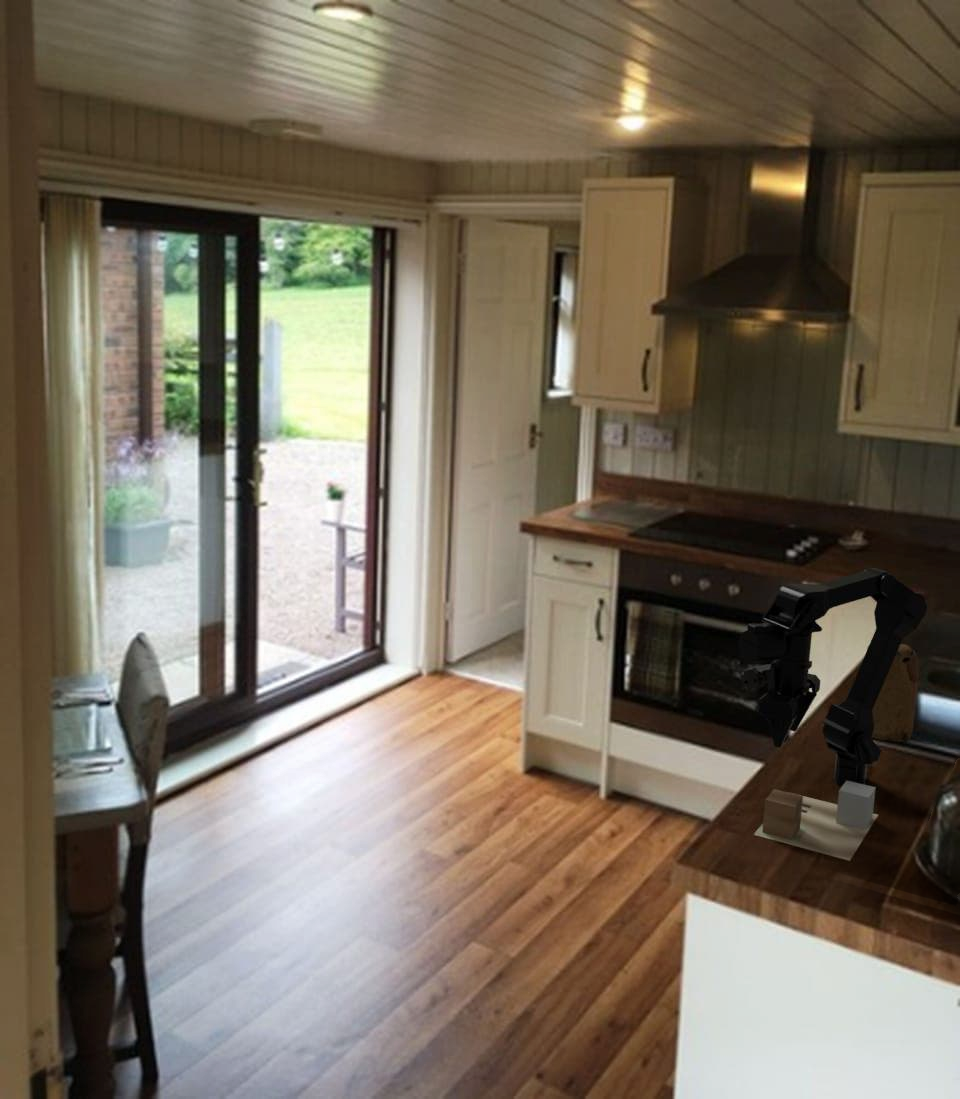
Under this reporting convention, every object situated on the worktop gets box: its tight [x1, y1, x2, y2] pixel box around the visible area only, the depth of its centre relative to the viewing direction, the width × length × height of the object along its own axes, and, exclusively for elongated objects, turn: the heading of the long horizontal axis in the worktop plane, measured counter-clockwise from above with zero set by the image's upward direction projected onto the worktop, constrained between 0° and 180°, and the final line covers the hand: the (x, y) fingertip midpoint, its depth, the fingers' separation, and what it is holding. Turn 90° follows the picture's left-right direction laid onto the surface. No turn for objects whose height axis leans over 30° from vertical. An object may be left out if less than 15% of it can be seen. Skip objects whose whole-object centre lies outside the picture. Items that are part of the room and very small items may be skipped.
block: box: [866, 643, 920, 743], centre depth 238 cm, size 11×8×20 cm
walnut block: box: [762, 788, 804, 840], centre depth 193 cm, size 5×5×6 cm
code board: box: [753, 792, 879, 861], centre depth 196 cm, size 20×16×1 cm
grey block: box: [836, 780, 877, 830], centre depth 197 cm, size 5×5×6 cm
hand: (785, 738), depth 205 cm, fingers open, 9 cm apart
